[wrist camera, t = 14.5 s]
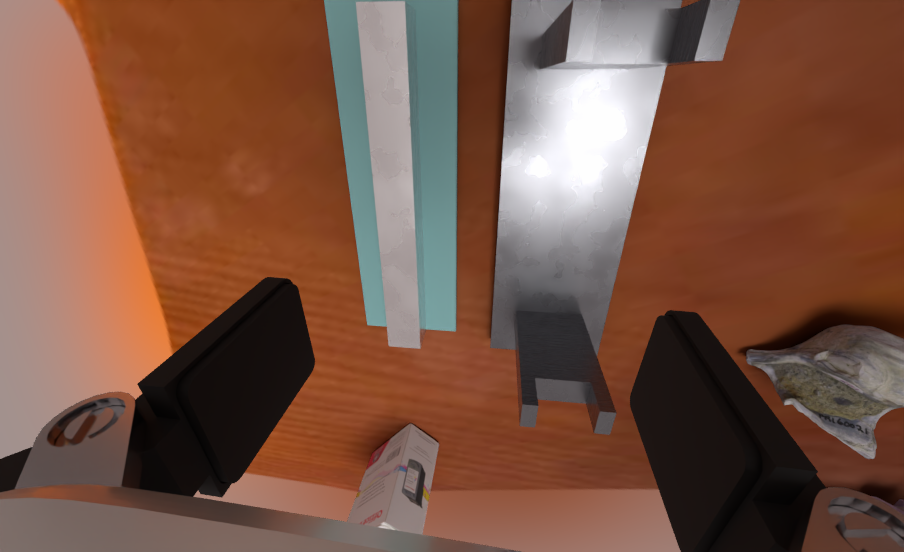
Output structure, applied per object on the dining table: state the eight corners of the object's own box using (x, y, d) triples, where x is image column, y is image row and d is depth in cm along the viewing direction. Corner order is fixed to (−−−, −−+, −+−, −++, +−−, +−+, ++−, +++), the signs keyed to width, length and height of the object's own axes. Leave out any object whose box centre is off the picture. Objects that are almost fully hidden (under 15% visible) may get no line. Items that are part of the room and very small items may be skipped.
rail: (371, 10, 24) (355, 1, 22) (415, 9, 24) (405, 1, 22) (396, 327, 37) (388, 346, 34) (426, 329, 36) (420, 348, 34)
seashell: (759, 302, 32) (859, 387, 23) (986, 310, 30) (1190, 407, 21) (722, 387, 36) (793, 485, 27) (916, 399, 34) (1058, 509, 26)
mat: (319, -64, 23) (314, -67, 23) (458, -70, 22) (457, -73, 22) (369, 321, 38) (367, 324, 37) (456, 327, 37) (455, 331, 36)
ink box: (399, 469, 49) (371, 574, 38) (369, 450, 48) (332, 553, 37) (441, 441, 45) (424, 549, 35) (410, 419, 44) (382, 524, 33)
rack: (512, -10, 24) (522, -90, 13) (676, -15, 22) (842, -105, 12) (490, 338, 37) (486, 447, 26) (593, 345, 36) (634, 462, 25)
